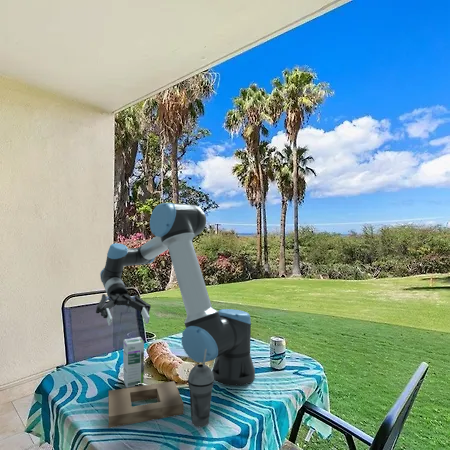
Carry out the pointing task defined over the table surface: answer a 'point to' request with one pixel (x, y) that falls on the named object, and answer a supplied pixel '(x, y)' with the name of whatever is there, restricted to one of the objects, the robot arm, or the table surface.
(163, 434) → the table surface
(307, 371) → the table surface
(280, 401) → the table surface
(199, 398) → the beverage cup
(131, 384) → the syrup box
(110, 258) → the robot arm
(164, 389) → the walnut board
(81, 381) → the table surface
